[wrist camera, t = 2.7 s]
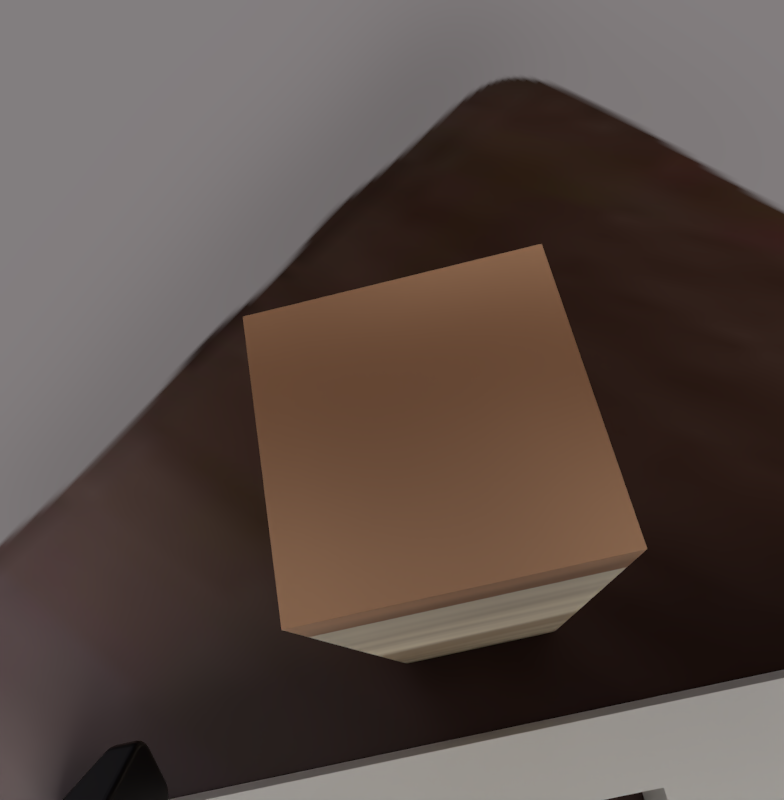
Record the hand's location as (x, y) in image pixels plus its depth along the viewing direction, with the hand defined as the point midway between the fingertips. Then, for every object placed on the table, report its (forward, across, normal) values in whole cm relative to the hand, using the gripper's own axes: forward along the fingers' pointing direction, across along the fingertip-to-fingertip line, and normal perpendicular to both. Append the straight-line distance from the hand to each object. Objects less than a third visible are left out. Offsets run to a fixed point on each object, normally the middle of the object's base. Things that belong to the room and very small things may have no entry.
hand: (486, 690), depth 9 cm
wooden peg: (+9, 0, +5) cm, 10 cm away
